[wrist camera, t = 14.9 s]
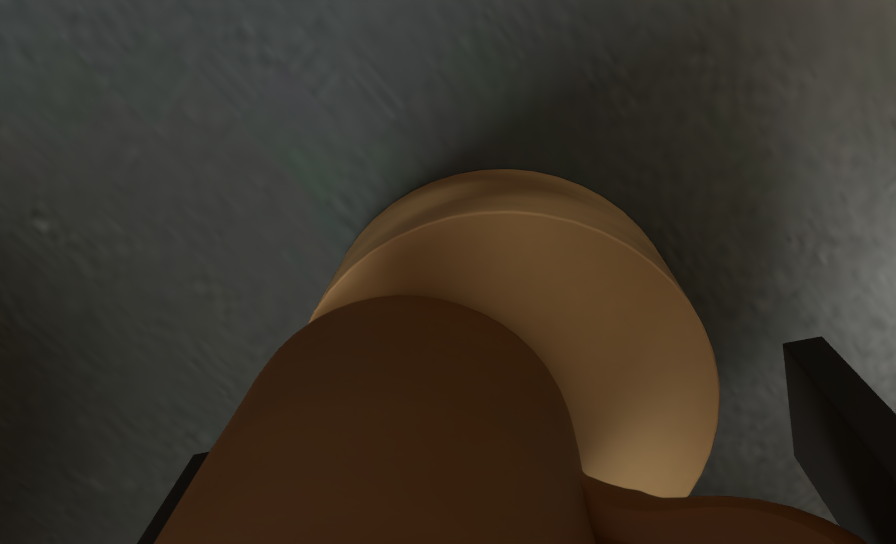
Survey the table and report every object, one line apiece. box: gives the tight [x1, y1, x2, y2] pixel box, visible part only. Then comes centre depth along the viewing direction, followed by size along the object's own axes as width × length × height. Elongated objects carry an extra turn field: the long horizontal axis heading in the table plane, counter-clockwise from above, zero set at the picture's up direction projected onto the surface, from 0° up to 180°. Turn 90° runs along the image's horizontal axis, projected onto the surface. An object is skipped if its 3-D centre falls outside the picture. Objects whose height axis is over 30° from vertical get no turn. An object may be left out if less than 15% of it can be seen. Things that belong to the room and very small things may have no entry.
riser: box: [308, 169, 720, 498], centre depth 19 cm, size 10×10×4 cm
